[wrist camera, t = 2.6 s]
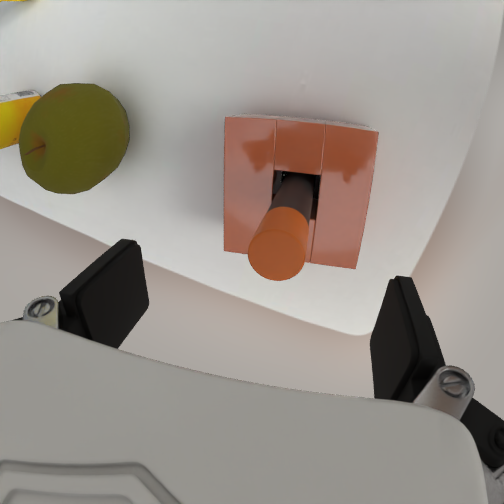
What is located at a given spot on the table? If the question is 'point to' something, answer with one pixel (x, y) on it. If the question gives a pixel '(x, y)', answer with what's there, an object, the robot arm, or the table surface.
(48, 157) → the apple
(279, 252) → the marker
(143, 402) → the robot arm
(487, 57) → the table surface
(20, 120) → the beer can
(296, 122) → the holder
